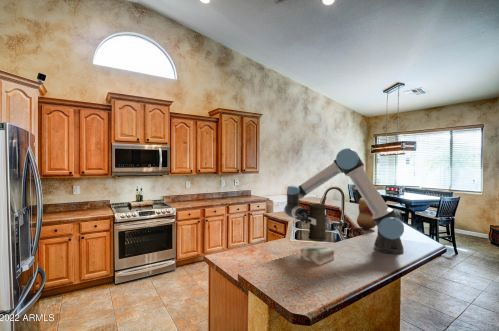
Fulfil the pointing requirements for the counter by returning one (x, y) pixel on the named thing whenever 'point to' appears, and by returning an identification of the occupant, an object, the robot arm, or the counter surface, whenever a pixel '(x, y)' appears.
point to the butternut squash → (365, 216)
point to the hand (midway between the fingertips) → (322, 221)
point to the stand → (317, 254)
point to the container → (317, 222)
